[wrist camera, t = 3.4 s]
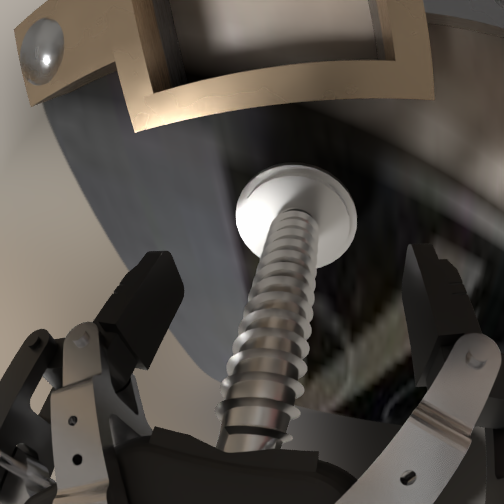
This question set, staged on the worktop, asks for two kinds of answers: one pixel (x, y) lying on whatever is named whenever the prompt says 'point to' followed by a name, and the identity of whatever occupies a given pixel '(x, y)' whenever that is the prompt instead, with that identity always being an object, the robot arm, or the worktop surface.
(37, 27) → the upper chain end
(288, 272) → the screw
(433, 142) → the worktop surface
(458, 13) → the lower chain end
